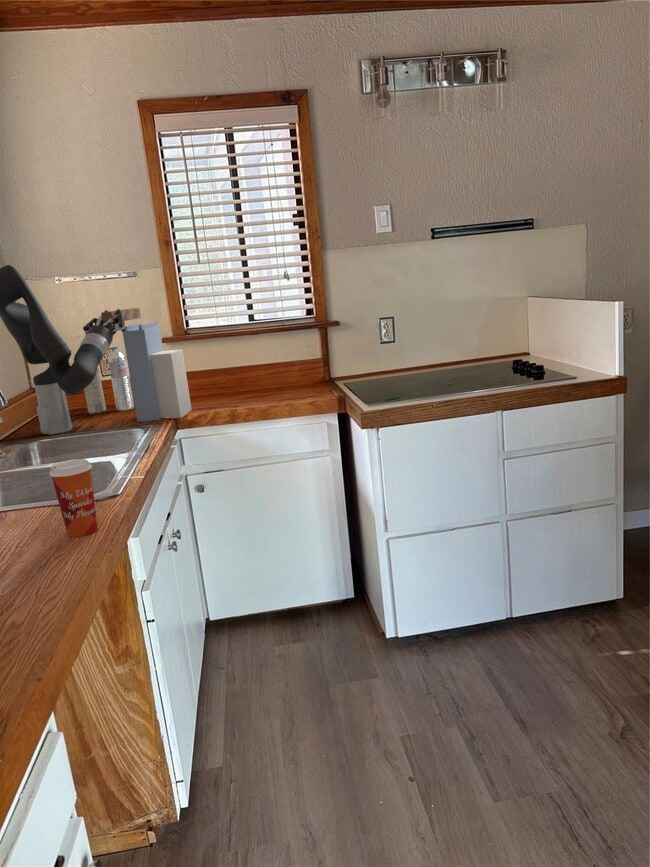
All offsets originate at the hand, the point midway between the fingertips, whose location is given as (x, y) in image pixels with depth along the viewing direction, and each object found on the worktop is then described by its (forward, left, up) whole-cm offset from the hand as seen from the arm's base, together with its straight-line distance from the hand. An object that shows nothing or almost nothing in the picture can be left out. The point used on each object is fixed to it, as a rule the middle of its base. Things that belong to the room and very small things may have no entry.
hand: (113, 312), depth 205 cm
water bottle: (+21, +36, -39) cm, 58 cm away
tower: (+16, +9, -39) cm, 43 cm away
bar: (+5, +3, -3) cm, 6 cm away
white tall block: (+21, +3, -39) cm, 44 cm away
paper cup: (-61, -71, -39) cm, 101 cm away
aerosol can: (+14, +45, -39) cm, 62 cm away
